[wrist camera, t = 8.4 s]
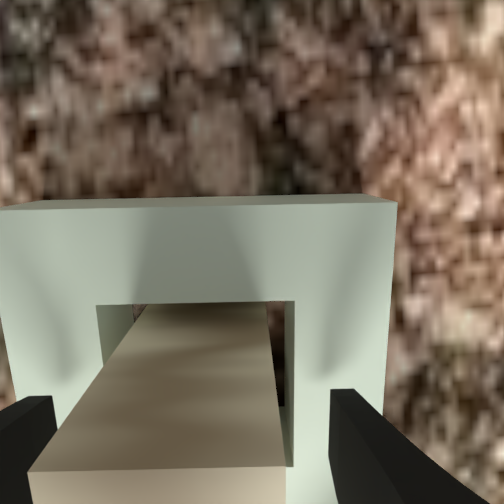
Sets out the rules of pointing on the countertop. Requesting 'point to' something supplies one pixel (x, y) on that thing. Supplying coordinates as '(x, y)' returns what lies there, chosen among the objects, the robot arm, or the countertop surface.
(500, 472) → the countertop surface
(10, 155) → the countertop surface
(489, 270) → the countertop surface
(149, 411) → the peg
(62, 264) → the socket block
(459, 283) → the countertop surface
